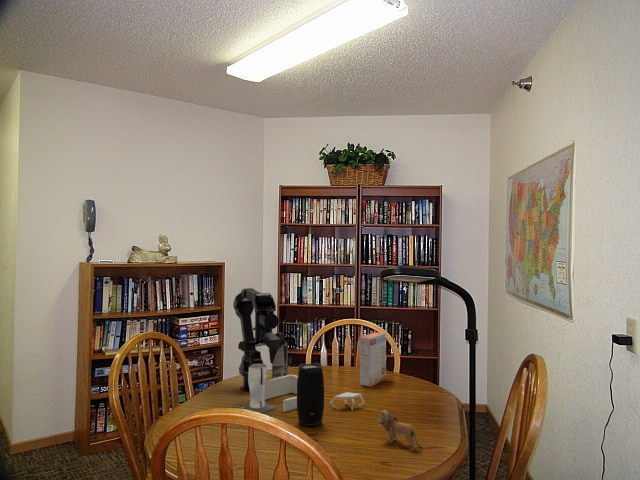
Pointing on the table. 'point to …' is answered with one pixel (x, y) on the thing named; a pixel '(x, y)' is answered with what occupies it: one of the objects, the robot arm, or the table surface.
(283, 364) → the coffee box
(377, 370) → the cracker box
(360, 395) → the white legged piece
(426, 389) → the table surface
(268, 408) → the slate mat
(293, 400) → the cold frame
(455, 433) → the table surface
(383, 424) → the lion figurine
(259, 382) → the beer glass
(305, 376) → the portable speaker
